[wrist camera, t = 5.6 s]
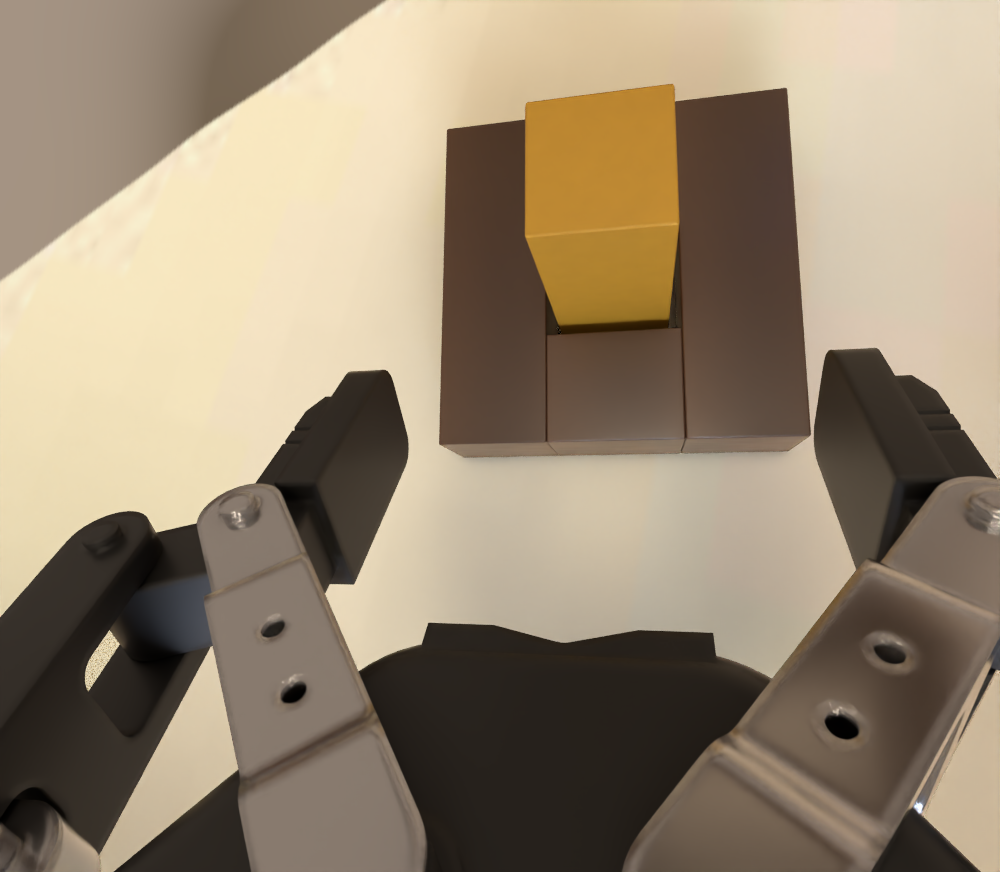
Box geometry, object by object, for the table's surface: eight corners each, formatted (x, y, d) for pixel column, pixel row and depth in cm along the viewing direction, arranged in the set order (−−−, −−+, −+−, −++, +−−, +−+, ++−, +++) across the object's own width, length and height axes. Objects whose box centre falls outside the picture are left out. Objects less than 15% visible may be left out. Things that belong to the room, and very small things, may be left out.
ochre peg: (567, 350, 28) (524, 237, 18) (566, 260, 29) (525, 101, 19) (666, 345, 27) (679, 223, 17) (663, 252, 28) (674, 82, 18)
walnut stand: (463, 457, 28) (438, 444, 25) (468, 175, 30) (446, 128, 27) (789, 451, 26) (811, 436, 22) (770, 143, 28) (787, 86, 24)
